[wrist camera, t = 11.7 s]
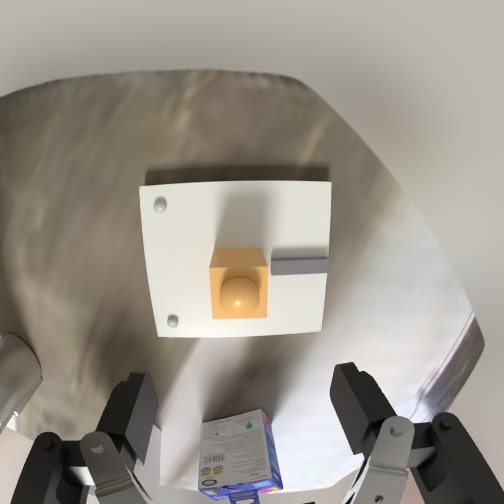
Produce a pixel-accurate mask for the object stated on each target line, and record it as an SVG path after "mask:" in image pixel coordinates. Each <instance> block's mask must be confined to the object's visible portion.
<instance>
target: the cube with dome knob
mask: <svg viewBox="0 0 504 504" xmlns="http://www.w3.org/2000/svg"><path fill="white" fill-rule="evenodd" d="M209 275H210V291H211V305H212V318H213V319H246V318H267V300H268V265H267V262H266V260H265V257H264V254H263V252H262V249H261V247H256V248H214V250H213V254H212V258H211V262H210V266H209Z"/></svg>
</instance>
